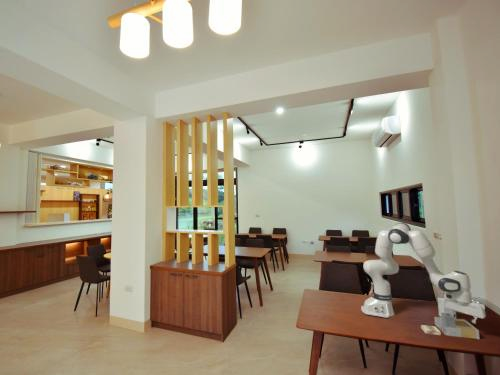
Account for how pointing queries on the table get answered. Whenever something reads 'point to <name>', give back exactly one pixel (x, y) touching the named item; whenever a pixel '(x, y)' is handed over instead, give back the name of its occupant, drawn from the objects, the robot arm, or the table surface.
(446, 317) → the nut block
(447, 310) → the supplement box
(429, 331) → the tab
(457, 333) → the grey yellow rectangular frame
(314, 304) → the table surface
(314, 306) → the table surface
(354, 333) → the table surface
